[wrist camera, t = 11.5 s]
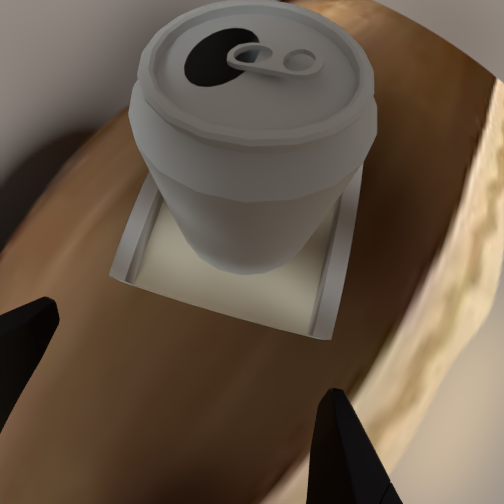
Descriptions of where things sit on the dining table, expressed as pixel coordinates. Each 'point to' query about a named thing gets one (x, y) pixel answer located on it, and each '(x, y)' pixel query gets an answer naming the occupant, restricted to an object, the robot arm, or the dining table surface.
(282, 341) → the dining table surface
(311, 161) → the can
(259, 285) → the rail dock
